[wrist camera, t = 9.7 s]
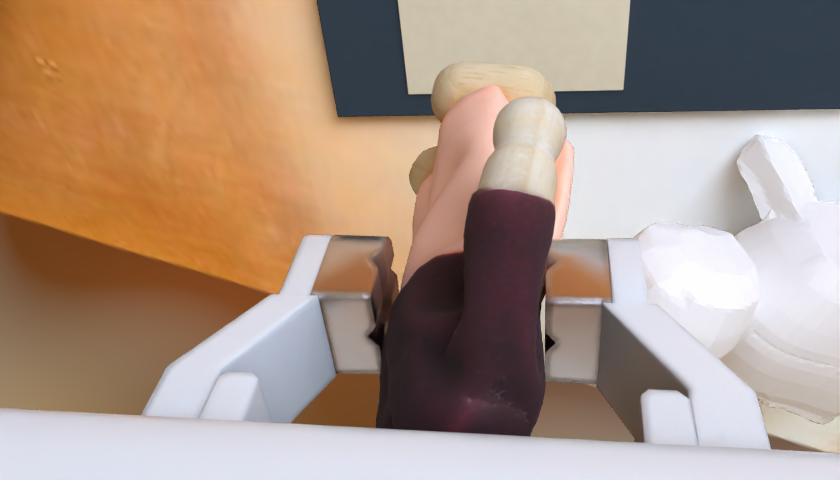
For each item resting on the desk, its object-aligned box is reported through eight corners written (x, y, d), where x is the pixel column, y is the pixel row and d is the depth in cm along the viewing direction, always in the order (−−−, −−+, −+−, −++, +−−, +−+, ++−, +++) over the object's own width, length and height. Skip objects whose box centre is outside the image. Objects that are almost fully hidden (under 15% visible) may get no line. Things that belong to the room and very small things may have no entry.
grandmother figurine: (541, 265, 20) (558, 900, 10) (393, 246, 20) (264, 854, 10) (611, -32, 15) (784, 632, 5) (415, -55, 15) (206, 547, 5)
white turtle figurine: (913, 156, 32) (617, 107, 26) (1079, 311, 26) (743, 290, 20) (787, 293, 37) (518, 276, 31) (901, 447, 31) (596, 460, 26)
